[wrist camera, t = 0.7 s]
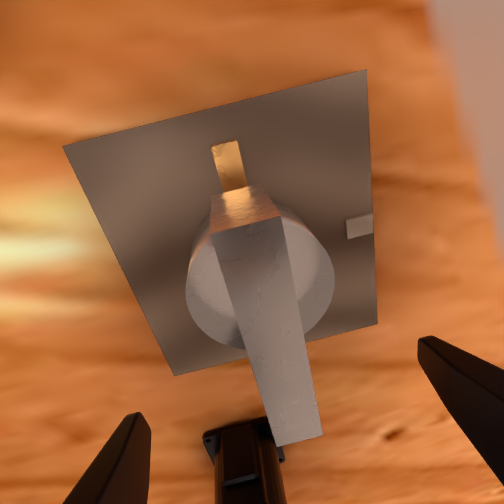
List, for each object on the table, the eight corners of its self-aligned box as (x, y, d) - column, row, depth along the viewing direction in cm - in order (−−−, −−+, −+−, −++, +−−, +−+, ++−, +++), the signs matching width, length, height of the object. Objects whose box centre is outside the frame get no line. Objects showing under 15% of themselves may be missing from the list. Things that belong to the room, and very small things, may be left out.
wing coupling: (319, 307, 20) (380, 420, 13) (217, 333, 20) (219, 462, 13) (292, 123, 15) (367, 135, 7) (153, 158, 15) (95, 205, 7)
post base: (367, 311, 23) (379, 325, 21) (176, 360, 23) (174, 378, 21) (353, 72, 16) (368, 68, 14) (75, 143, 16) (60, 146, 14)
